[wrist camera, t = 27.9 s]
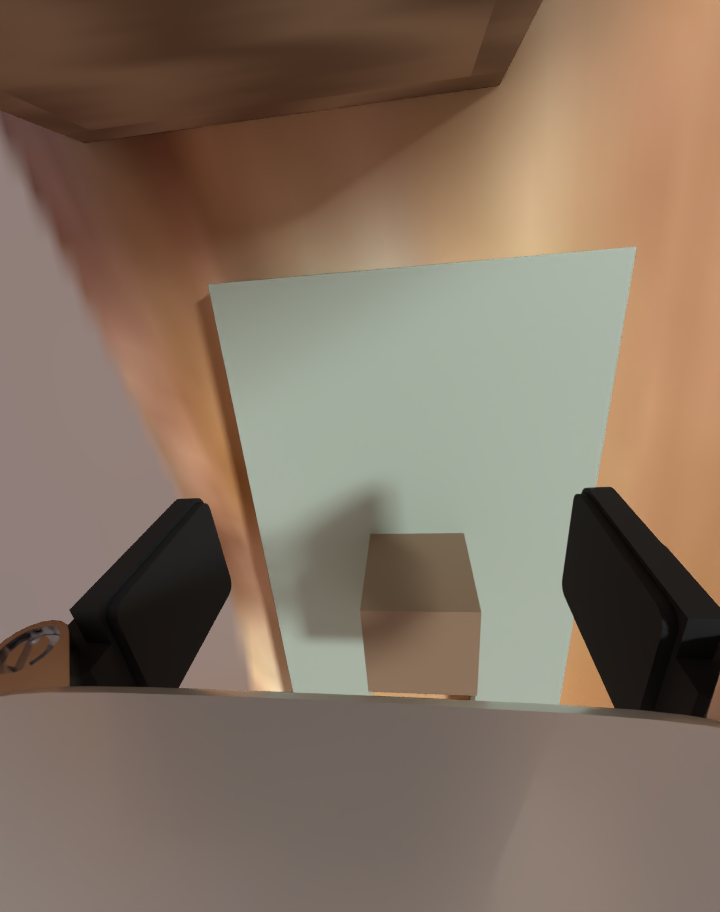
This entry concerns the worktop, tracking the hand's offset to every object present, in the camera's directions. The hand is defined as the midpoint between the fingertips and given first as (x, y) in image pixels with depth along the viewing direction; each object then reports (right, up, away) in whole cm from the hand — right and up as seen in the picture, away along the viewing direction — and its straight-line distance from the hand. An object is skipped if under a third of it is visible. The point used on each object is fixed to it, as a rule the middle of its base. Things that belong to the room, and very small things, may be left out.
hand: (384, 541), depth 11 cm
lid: (+2, -3, +9) cm, 10 cm away
